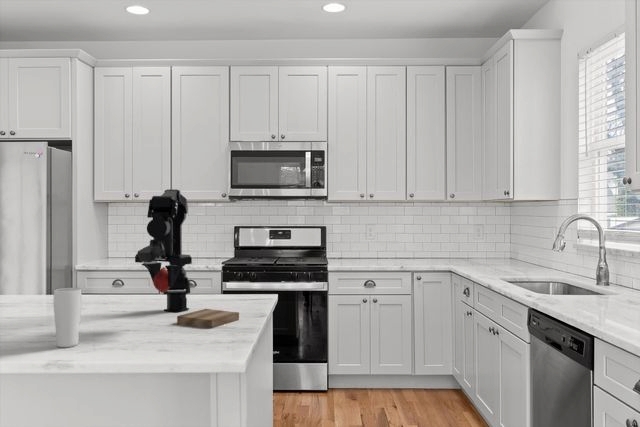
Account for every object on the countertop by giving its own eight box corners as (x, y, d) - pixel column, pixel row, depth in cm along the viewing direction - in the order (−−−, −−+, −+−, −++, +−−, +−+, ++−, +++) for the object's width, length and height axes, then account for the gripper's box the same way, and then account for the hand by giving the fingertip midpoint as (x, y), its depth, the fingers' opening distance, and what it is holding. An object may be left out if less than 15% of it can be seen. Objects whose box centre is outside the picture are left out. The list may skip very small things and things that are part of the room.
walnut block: (177, 325, 164) (177, 316, 164) (205, 317, 176) (205, 308, 176) (211, 330, 157) (211, 320, 157) (238, 321, 170) (239, 312, 170)
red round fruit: (166, 294, 155) (166, 268, 155) (149, 294, 157) (149, 268, 156) (176, 291, 161) (176, 266, 161) (159, 291, 162) (159, 265, 162)
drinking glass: (59, 342, 140) (59, 287, 140) (85, 342, 140) (85, 287, 140) (48, 349, 133) (48, 291, 133) (75, 348, 134) (75, 291, 134)
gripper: (120, 236, 156) (120, 287, 156) (166, 238, 147) (166, 292, 147) (148, 234, 166) (148, 282, 166) (192, 236, 157) (192, 287, 157)
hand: (163, 286), depth 159 cm, fingers closed on red round fruit, 6 cm apart
